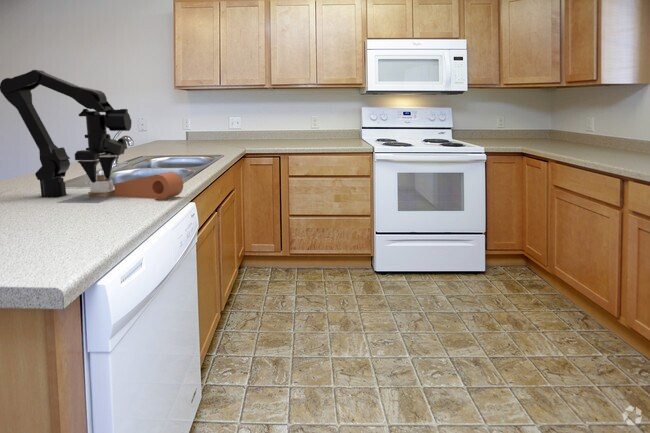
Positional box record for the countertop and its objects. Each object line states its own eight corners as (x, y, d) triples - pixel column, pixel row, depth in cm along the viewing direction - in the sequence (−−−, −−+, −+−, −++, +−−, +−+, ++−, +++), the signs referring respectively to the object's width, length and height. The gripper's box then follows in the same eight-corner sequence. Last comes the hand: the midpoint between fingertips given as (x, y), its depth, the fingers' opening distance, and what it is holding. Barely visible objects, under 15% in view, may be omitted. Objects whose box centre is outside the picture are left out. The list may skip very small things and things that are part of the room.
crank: (183, 197, 184) (182, 172, 182) (169, 201, 176) (168, 175, 175) (130, 192, 190) (129, 168, 188) (114, 196, 182) (113, 171, 181)
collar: (87, 192, 181) (86, 181, 180) (97, 189, 187) (96, 178, 186) (106, 192, 180) (105, 181, 179) (116, 189, 186) (115, 178, 186)
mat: (56, 204, 172) (56, 202, 171) (85, 195, 188) (85, 193, 188) (98, 204, 170) (97, 202, 170) (123, 195, 187) (123, 194, 187)
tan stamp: (88, 197, 181) (86, 176, 180) (97, 194, 187) (96, 174, 186) (106, 197, 181) (105, 176, 179) (115, 194, 186) (113, 174, 185)
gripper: (107, 132, 170) (111, 184, 173) (134, 129, 188) (137, 177, 191) (71, 132, 171) (76, 184, 174) (101, 129, 189) (105, 176, 192)
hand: (100, 180), depth 183 cm, fingers open, 9 cm apart
